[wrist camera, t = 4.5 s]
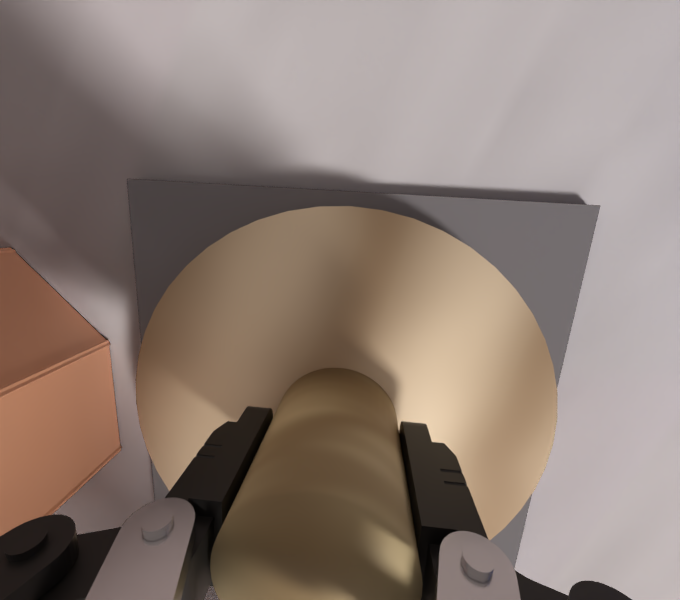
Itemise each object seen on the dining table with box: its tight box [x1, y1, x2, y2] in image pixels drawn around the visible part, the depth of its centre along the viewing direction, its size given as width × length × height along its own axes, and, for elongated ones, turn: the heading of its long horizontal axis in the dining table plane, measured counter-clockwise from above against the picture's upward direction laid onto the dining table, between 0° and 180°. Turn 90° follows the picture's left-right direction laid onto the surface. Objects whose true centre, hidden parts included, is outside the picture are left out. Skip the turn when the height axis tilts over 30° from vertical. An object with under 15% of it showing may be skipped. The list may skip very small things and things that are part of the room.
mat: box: [127, 179, 600, 568], centre depth 12 cm, size 15×15×1 cm
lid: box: [136, 206, 557, 600], centre depth 9 cm, size 14×14×6 cm
